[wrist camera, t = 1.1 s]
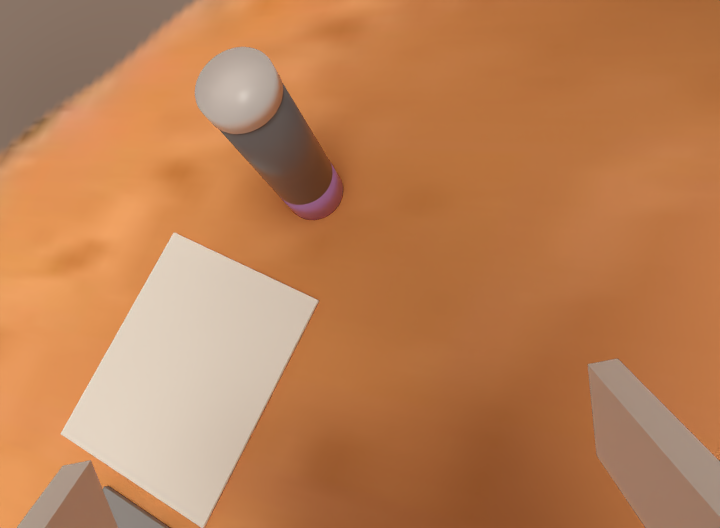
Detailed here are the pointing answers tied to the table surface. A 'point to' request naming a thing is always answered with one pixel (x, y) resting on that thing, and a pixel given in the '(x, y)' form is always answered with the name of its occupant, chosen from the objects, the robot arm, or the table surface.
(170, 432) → the paper
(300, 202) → the marker
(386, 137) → the table surface
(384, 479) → the table surface
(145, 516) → the rest pad
